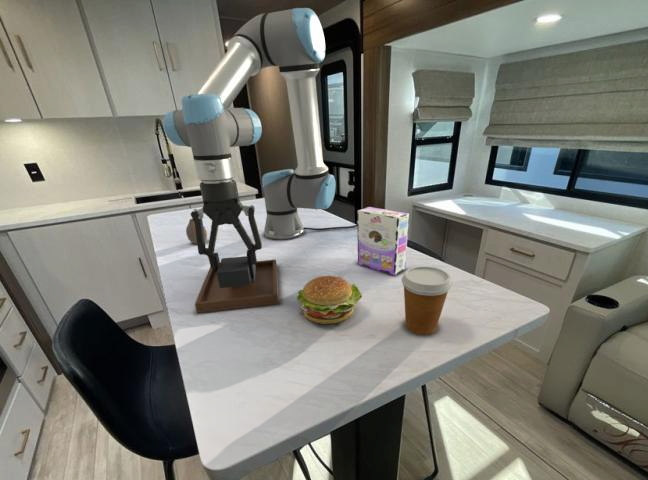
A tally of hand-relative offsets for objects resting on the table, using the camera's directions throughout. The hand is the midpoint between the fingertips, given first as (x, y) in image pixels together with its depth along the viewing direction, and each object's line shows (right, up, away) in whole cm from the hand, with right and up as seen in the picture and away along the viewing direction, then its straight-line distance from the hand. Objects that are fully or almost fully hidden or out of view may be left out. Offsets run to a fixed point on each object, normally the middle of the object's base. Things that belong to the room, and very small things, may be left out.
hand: (236, 277), depth 79 cm
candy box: (+38, +4, +16) cm, 41 cm away
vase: (-27, +16, +40) cm, 51 cm away
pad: (0, 0, 0) cm, 0 cm away
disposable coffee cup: (+43, -11, -12) cm, 46 cm away
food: (+23, -8, -5) cm, 25 cm away
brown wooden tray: (-1, -2, +7) cm, 7 cm away
